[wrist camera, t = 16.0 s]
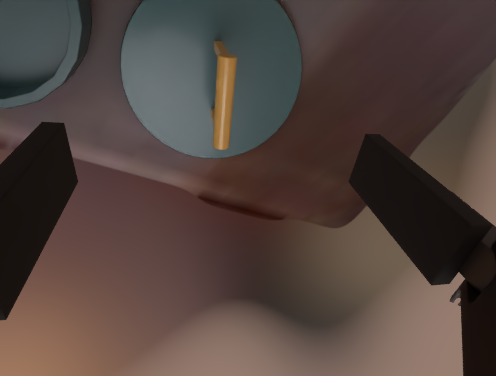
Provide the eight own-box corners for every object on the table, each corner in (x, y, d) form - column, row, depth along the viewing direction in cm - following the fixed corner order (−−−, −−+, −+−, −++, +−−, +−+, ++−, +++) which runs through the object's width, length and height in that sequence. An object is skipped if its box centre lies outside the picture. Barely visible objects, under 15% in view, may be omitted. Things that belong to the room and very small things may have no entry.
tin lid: (132, 152, 32) (119, 199, 25) (109, -45, 22) (79, -53, 16) (282, 155, 35) (305, 197, 29) (316, -15, 26) (362, -11, 19)
